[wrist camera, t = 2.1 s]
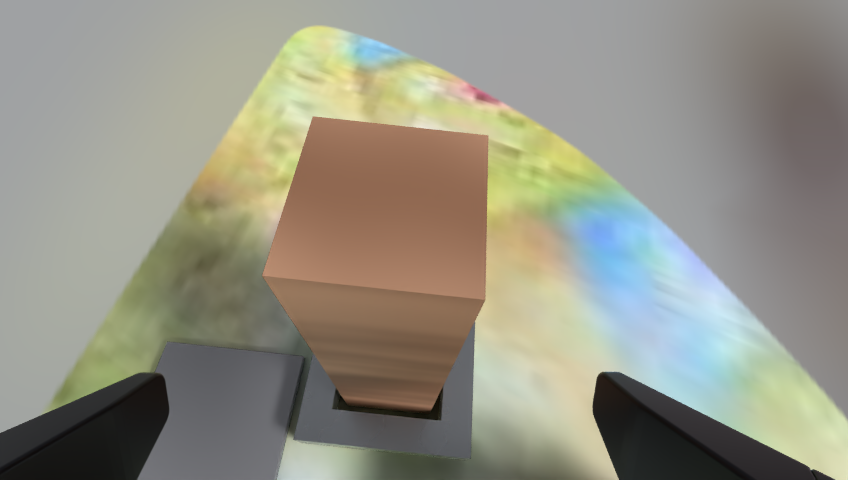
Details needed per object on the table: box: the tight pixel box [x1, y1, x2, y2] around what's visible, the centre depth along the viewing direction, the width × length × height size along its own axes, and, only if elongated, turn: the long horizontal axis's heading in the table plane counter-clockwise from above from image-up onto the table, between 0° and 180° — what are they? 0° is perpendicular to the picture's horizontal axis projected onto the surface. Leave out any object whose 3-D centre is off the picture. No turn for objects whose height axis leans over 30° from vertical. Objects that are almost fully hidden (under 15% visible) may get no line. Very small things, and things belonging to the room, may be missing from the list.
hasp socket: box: [293, 322, 475, 460], centre depth 18 cm, size 7×7×2 cm
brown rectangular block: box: [262, 117, 488, 414], centre depth 13 cm, size 4×4×13 cm
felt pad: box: [137, 342, 305, 480], centre depth 17 cm, size 6×6×1 cm
